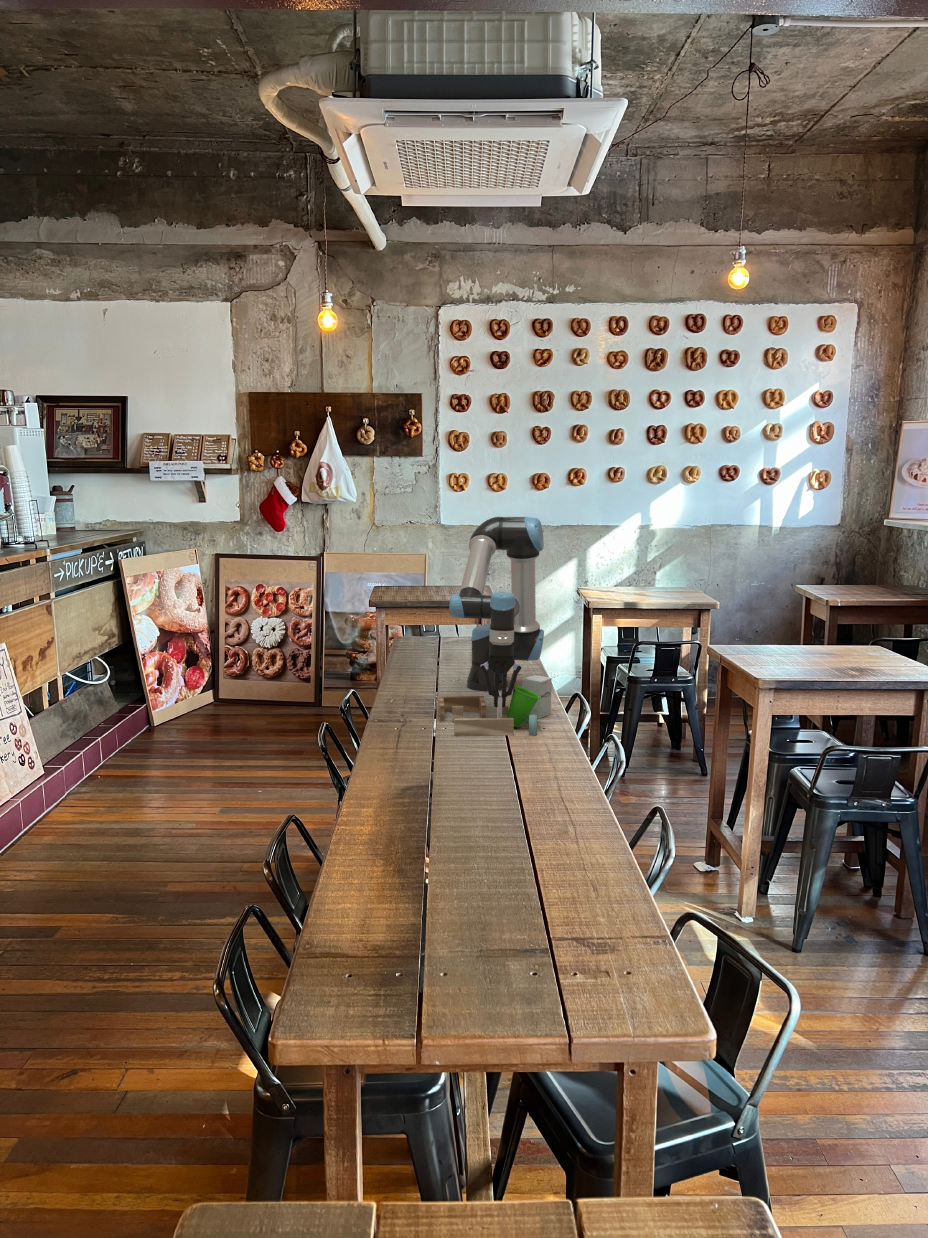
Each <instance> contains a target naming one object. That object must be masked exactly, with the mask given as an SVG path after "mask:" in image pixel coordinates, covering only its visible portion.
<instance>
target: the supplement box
mask: <svg viewBox="0 0 928 1238" xmlns="http://www.w3.org/2000/svg"><path fill="white" fill-rule="evenodd" d="M521 687H522V688H525V689H527V690H530V691H532V692H534V693H535V694H537V695H538V696H540V699H538V700H537V702H536V704H535V705H534V707H533V708H532V710H531V712H530V715H532V714H534V715H537V720H540V719H542V718H543V717H547V716H550V715H551V714H552V677H548V676H543V675H535V674H534V675H530V676H527V677H524V678H521Z"/></svg>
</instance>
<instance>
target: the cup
mask: <svg viewBox="0 0 928 1238" xmlns="http://www.w3.org/2000/svg"><path fill="white" fill-rule="evenodd" d="M538 699H540V696H538V695H537V694H535V693H534V692H532V691H530V690H527V689H525V688H522V686H518V685H514V688H513V692H512V695H511V699H510V702H509V705H508V707H509V710H508V714H507V718H513V719H514V727H517V728H521V727H522V726H523V724H524V721H525V720H526V718H527V716H528V715H529V713H530V712H531V710H532V708H533V707H534V705H535V704H536V702H537V700H538Z"/></svg>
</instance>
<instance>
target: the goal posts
mask: <svg viewBox="0 0 928 1238" xmlns="http://www.w3.org/2000/svg"><path fill="white" fill-rule="evenodd" d="M524 722H525V723H526V722H527V723H528V736H533V737H534V736H535V737H536V736H537V735H538V733H537V731H538V730H537V729H538V719H537V715H534V714H532V715H530V713H529V715H528V716H527V718H526V720H525V721H524Z"/></svg>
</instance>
